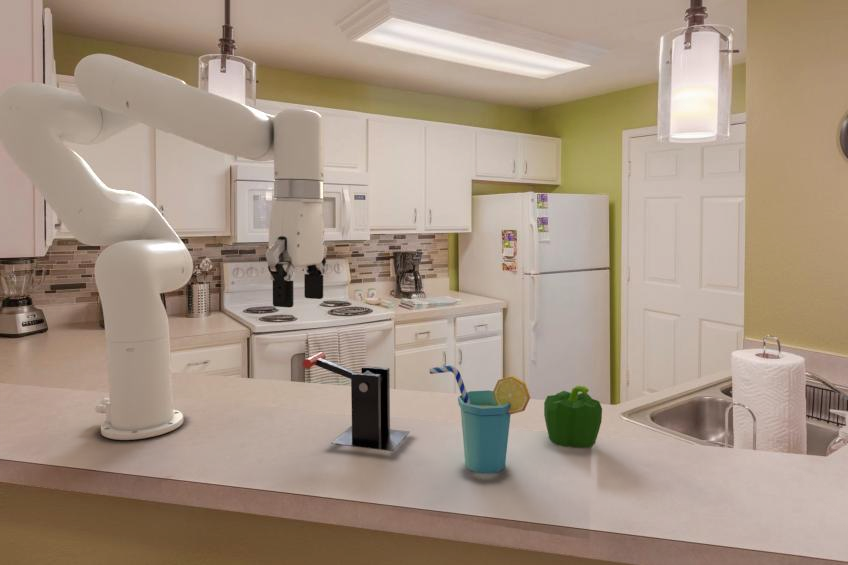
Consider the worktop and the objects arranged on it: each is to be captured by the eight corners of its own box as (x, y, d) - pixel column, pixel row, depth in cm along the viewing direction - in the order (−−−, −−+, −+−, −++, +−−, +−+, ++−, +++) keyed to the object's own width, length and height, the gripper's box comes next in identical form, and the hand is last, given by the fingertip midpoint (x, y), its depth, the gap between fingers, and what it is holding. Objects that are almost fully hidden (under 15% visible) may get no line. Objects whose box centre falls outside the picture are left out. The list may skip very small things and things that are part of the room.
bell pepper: (535, 438, 92) (536, 377, 91) (582, 434, 94) (584, 374, 93) (558, 459, 84) (560, 393, 83) (609, 455, 85) (611, 389, 84)
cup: (423, 479, 78) (422, 371, 76) (435, 456, 85) (435, 357, 84) (527, 490, 74) (529, 377, 73) (530, 465, 82) (532, 362, 80)
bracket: (331, 450, 87) (329, 375, 86) (352, 432, 95) (351, 362, 94) (392, 458, 84) (392, 380, 83) (409, 438, 92) (409, 366, 91)
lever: (300, 369, 89) (304, 355, 89) (315, 361, 94) (319, 348, 93) (370, 397, 86) (374, 382, 86) (382, 387, 91) (386, 374, 90)
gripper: (304, 195, 98) (304, 294, 100) (245, 190, 81) (246, 308, 83) (344, 195, 96) (344, 297, 98) (292, 190, 79) (292, 312, 81)
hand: (299, 302), depth 91 cm, fingers open, 9 cm apart
